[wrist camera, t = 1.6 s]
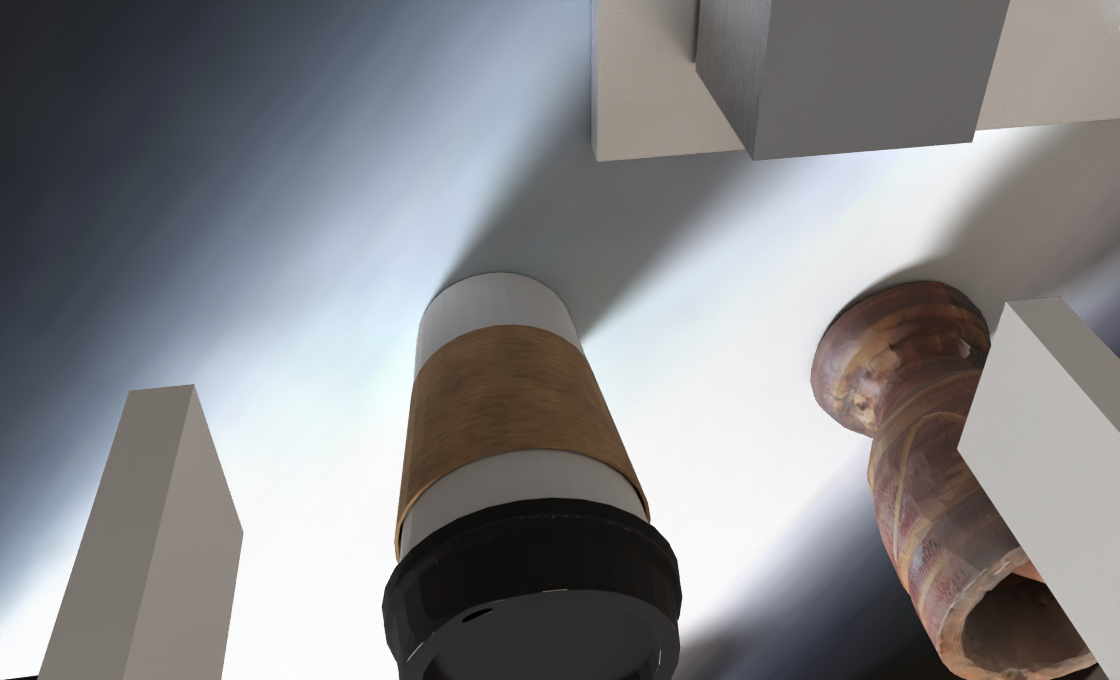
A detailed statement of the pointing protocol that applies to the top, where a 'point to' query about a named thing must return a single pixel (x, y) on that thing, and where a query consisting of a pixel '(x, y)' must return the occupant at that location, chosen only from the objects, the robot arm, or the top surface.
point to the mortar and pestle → (940, 482)
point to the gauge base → (700, 127)
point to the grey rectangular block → (848, 71)
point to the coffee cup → (521, 506)
